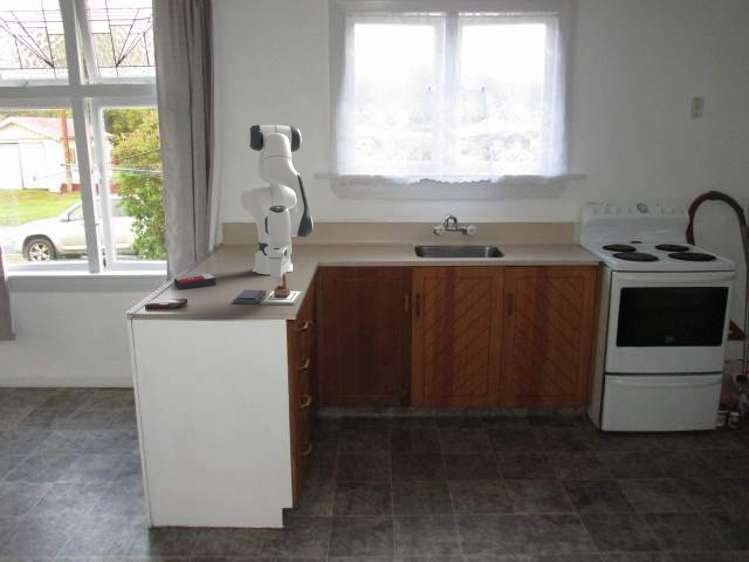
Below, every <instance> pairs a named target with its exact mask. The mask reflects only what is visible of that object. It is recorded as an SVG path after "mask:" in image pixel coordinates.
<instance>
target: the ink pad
mask: <svg viewBox="0 0 749 562" xmlns="http://www.w3.org/2000/svg"><path fill="white" fill-rule="evenodd" d="M266 296H267V291H266V290H263V289H244V290H242V291H241V292H240V293H239V294H238V295H237V296H235V297H234V299H233V300H232V301H233V305H234V304H236V305H237V304H239V305H240V304H242V305H243V304H245V305H249V304H250V305H251V304H252V305H257V304H258V303H260V302H261V301H262V300H263V299H264V298H265V297H266Z"/></svg>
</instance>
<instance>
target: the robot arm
mask: <svg viewBox="0 0 749 562" xmlns="http://www.w3.org/2000/svg"><path fill="white" fill-rule="evenodd" d="M247 143H248V146H249V147H250V149H252V150H254V151H257V152H258V157H257V158H258V159H257V163H258V164H257V175H258V177H259V178H260V179H261V180H262V181H263V182H265V183H268V184H269V186H267V187H266V186H263V187H259V186H258V187H252V188H250V187H249V188H247V189H244V190H243V191H242V192H241V194H240V198H239V203H240V205H241V207H242V209H243V210H244V211H245V212H246V213H248V214H249V215H251V217H252V218H253V219H254V221H255V224H256V226H257V236H258V241H257V249H258V251H257V252H256V253H255V255H254V258H255V259H254V260H255V261H254V262H255V263H254V264H255V265H254V266H255V267H254V268H252V270H251V271H252V273H253V272H254V273H257V274H260V275H270V278H272V279H276V281H277V286H282V285H283V281H282V275H283V274H284V273H285V272H286V273H292V272H293V269H294V268H293V267H294V266H293V265H294V264H293V263H292V262H291V254H293V251H292V250H293V248H292V247H293V246H292V245H293V244H292V242H293V241H292V237H293V238H294V237H297V238H307V237H308V236H310V235H311V234H312V233H313V230H314V221H313V218H312V215H311V213H310V212H311V211H310V208H309V204H308V199H307V194H306V190H305V186H304V182H303V178H302V175H301V174H300V173H299V172H298V171H297V170H295V168H294V165H293V158H292V157H293V156H292V153H295V152H297V151H299V150H300V148H301V145H302V143H303V139H302V134H301V131H300V129H299V128H298V127H295V126H292V125H290V126H287V125H281V124H265V125H264V124H262V125H261V124H254V125H251V126H250V128H249V130H248V133H247ZM296 205H297V208H298V210H297V211H290V210H291V209H293V208H294V207H296Z"/></svg>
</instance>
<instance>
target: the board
mask: <svg viewBox="0 0 749 562" xmlns="http://www.w3.org/2000/svg"><path fill="white" fill-rule="evenodd" d="M303 294H304V290H290V294H289V296H288V297H274V290H270V291H269V292H268V294H266V295H265V296H264V297H263V298H262V299H261V300H260V301H259V303H260V305H264V306H265V305H268V306H271V305H273V306H274V305H275V306H280V305H281V306H282V305H283V306H286V305H287V306H295V305H296V304H297V302H298V301H299V299H300V298H301V297H302V296H303Z"/></svg>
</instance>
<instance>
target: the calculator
mask: <svg viewBox="0 0 749 562" xmlns="http://www.w3.org/2000/svg"><path fill="white" fill-rule="evenodd" d="M173 281H174V282H173V283H174V285H175V286H176V288H178V289H179V290H181V291H182V290H189V289H190V290H191V289H197V288H199V289H200V288H203V287H206V288H208V287H215V286H217V281H216V277H215V276H213V275H212V274H211V273H210V272H204V273H203V272H202V273H195V274H189V275H182V276H175V278H174V279H173Z"/></svg>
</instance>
